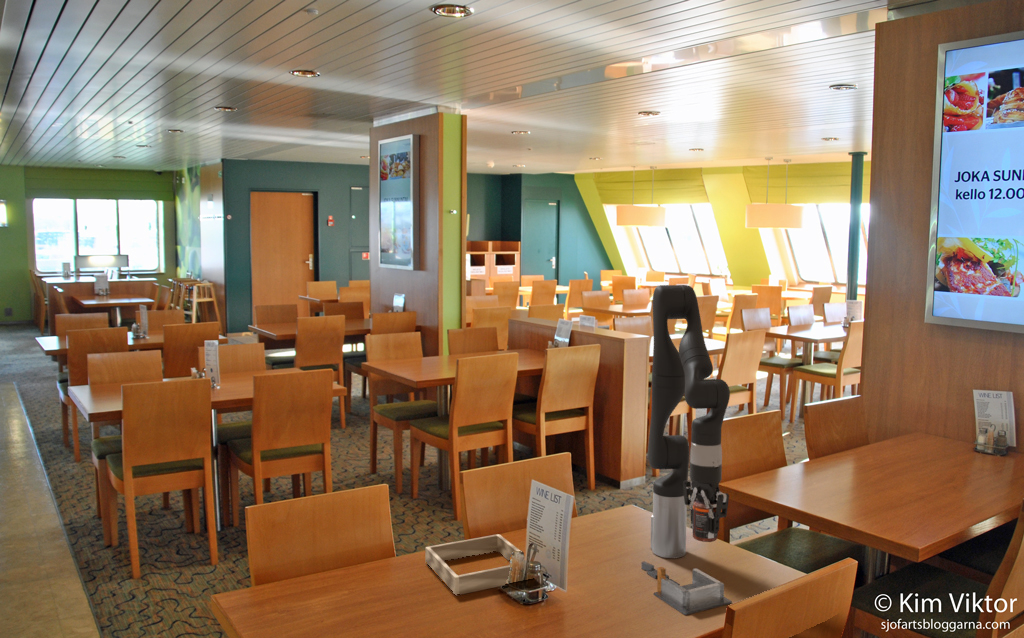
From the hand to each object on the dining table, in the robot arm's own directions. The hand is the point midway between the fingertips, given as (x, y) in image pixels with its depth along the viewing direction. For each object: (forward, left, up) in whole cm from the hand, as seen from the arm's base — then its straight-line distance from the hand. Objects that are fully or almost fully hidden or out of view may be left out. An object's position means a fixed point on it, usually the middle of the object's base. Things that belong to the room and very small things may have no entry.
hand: (704, 528), depth 185 cm
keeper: (0, -4, -17) cm, 17 cm away
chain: (-13, -4, -17) cm, 21 cm away
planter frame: (-37, -44, -17) cm, 60 cm away
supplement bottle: (0, 0, -3) cm, 3 cm away
